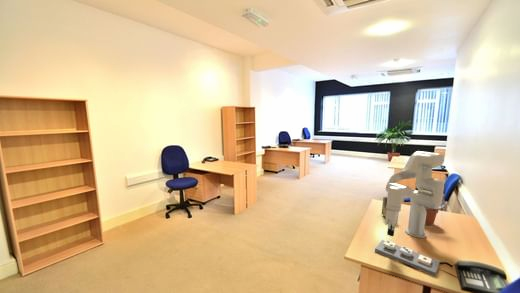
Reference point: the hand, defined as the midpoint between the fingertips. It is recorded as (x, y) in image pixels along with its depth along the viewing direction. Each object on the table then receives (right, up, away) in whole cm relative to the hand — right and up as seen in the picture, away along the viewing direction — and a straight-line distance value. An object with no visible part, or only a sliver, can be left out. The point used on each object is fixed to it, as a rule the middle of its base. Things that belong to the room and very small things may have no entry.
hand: (390, 235), depth 137 cm
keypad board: (+6, -12, -5) cm, 14 cm away
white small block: (+6, -10, -5) cm, 13 cm away
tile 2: (0, -9, +1) cm, 9 cm away
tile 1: (+13, -12, -11) cm, 21 cm away
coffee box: (+27, -5, +49) cm, 56 cm away
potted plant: (+52, -6, +42) cm, 67 cm away
